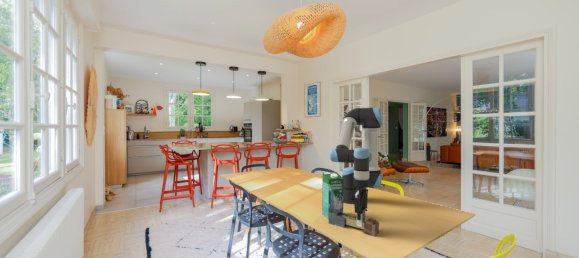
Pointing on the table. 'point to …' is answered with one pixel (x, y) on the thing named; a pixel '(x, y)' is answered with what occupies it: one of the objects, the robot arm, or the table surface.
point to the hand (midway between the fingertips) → (360, 224)
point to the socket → (371, 227)
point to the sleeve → (337, 218)
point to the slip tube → (355, 220)
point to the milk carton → (332, 193)
